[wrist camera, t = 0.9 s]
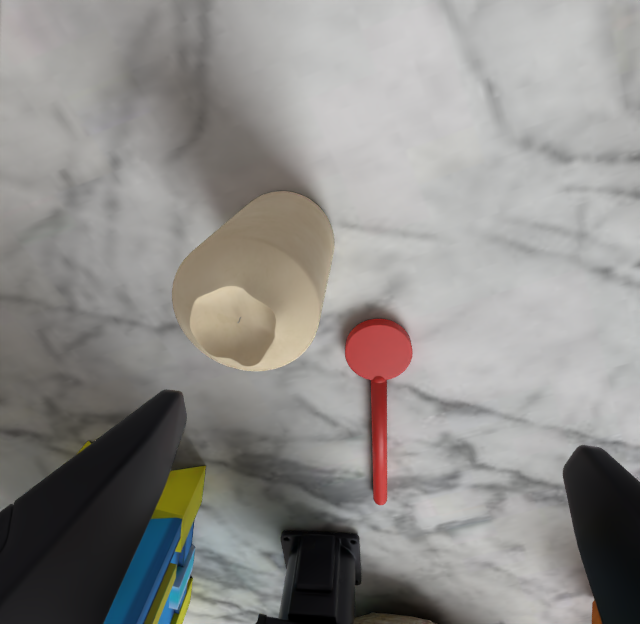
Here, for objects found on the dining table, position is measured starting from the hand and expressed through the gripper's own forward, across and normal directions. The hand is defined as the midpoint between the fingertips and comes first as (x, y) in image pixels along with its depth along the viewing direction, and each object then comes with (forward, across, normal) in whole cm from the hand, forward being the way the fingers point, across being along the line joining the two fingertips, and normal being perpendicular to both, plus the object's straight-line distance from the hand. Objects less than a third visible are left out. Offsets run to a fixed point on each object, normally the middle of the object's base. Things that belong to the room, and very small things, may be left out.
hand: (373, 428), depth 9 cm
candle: (+14, +4, +2) cm, 15 cm away
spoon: (+13, -2, +13) cm, 18 cm away
